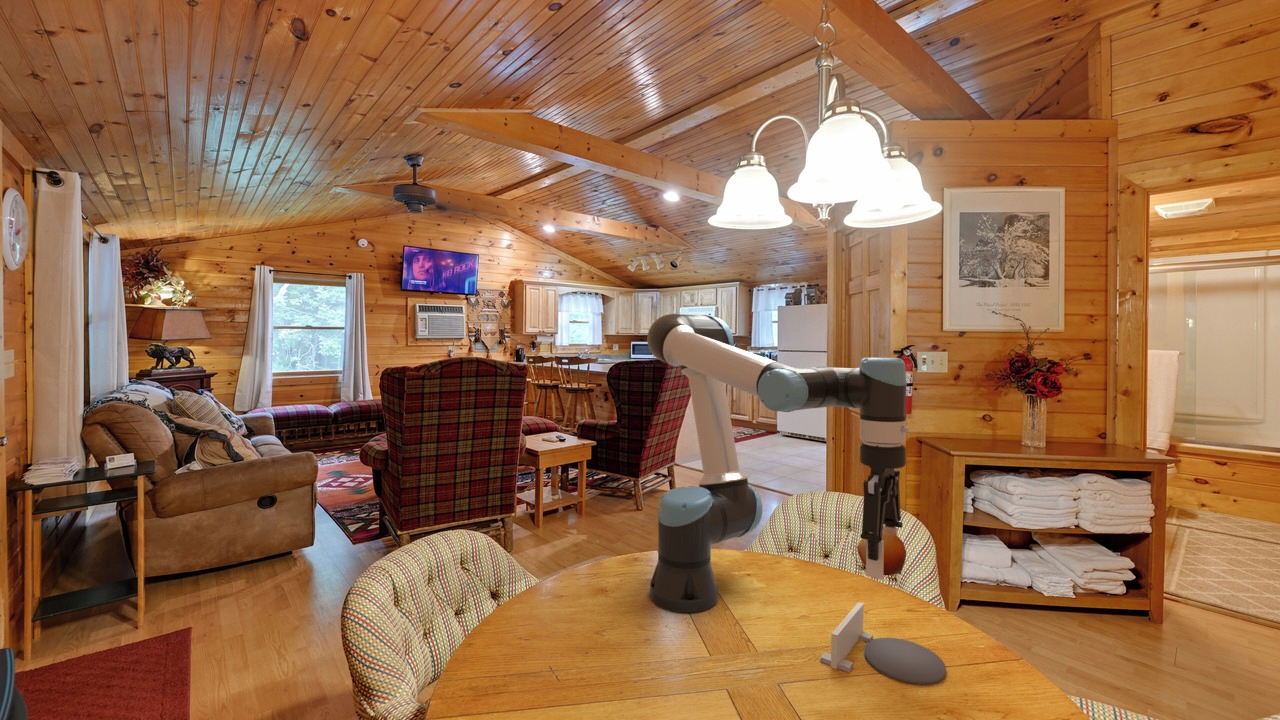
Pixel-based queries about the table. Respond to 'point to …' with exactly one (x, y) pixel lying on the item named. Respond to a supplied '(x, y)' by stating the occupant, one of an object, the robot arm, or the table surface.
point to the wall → (846, 639)
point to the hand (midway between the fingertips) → (882, 569)
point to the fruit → (888, 553)
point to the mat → (905, 661)
